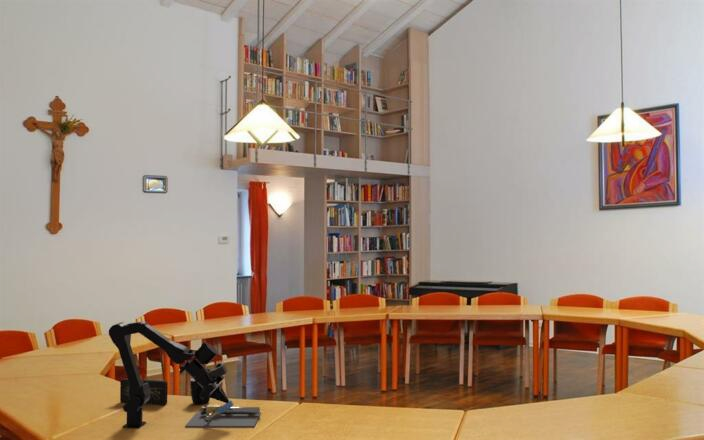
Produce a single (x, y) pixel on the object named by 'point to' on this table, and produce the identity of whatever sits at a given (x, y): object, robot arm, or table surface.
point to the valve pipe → (229, 410)
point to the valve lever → (220, 410)
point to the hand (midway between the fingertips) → (228, 402)
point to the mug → (197, 393)
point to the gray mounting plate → (224, 421)
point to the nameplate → (156, 395)
